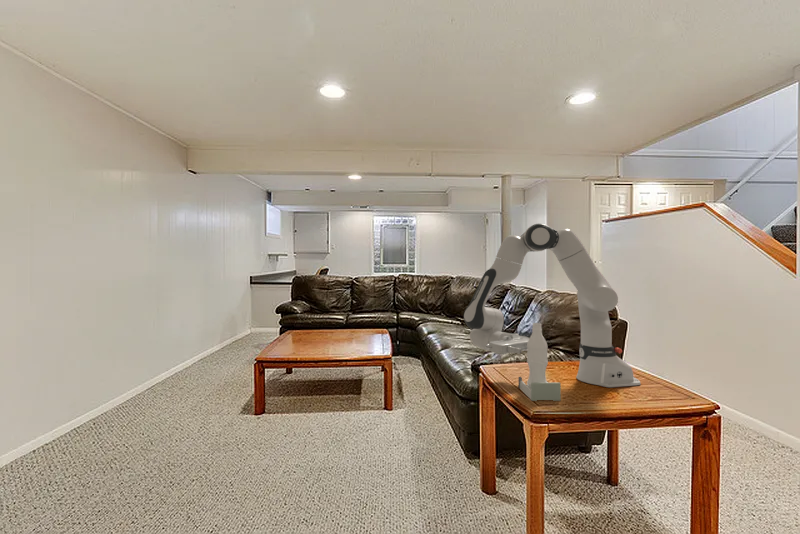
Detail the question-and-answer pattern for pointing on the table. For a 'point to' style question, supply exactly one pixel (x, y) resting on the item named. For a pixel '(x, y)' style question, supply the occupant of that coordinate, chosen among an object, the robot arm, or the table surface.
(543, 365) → the water bottle
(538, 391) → the bay
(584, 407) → the table surface
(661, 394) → the table surface
